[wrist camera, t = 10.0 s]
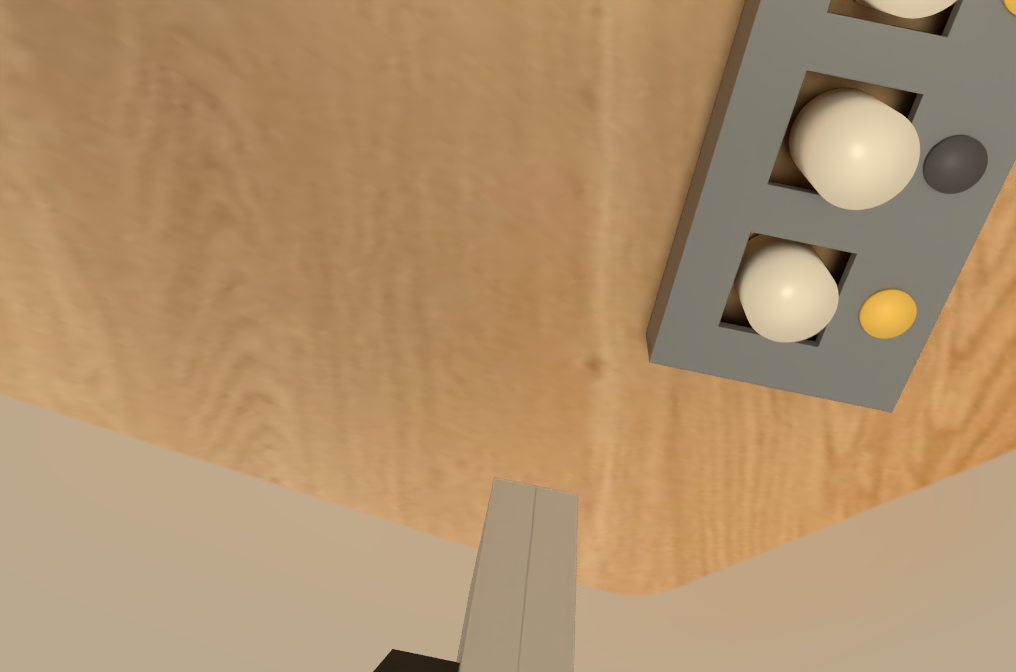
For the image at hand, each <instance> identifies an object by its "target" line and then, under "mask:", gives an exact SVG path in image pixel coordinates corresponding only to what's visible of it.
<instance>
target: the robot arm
mask: <svg viewBox="0 0 1016 672" xmlns="http://www.w3.org/2000/svg"><path fill="white" fill-rule="evenodd" d="M577 528H578V494H573V493H568V492H563V491H558V490H553V489H549V488H544V487H539V486H534V485H529V484H524V483H520V482H515V481H510V480H505V479H500V478H495V477H494V481H493V486H492V490H491V495H490V499H489V504H488V509H487V513H486V518H485V522H484V527H483V532H482V536H481V541H480V545H479V550H478V554H477V559H476V564H475V569H474V573H473V577H472V582H471V587H470V591H469V597H468V602H467V608H466V613H465V618H464V624H463V630H462V635H461V640H460V646H459V651H458V656H457V662H453V661H448V660H443V659H438V658H433V657H429V656H424V655H419V654H414V653H409V652H404V651H400V650H395V649H392V650H391V652H390V653H389V654H388V655H387V656H386V657H385V659H384V660H383V661H382V662H381V663H380V664H379V666H378V667H377V668H376V669H375V670H374V671H373V672H574V646H575V645H574V644H575V605H576V567H577Z"/></svg>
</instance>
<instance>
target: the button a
mask: <svg viewBox="0 0 1016 672" xmlns="http://www.w3.org/2000/svg"><path fill="white" fill-rule="evenodd" d="M733 283H734V286H735V289H736V291H737V294H738V296H739V299H740V301H741V304H742V307H743V309H744V312H745V314H746V317H747V319H748V321H749V323H750V325H751V326H752V328H753V329H754V330H755V331H756V332H757V333H759V334H760V335H761V336H763V337H765V338H767V339H769V340H772V341H776V342H787V343H788V342H797V341H801V340H804V339H807V338H809V337H812V336H813V335H815V334H817V333H818V332H820V331H821V330H822V329H823V328H824V327H825V326H826V325H827V324H828V323H829V322H830V321H831V319H832V318H833V316H834V314H835V312H836V309H837V306H838V299H839V294H838V288H837V285H836V283H835V280H834V279H833V277H832V276H831V274H830V273H829V271H828V270H827V268H826V267H825V265H824V264H823V263H822V261H821V260H820V258H819V257H818V255H817V254H816V252H815V251H814V249H813V248H812V246H811V245H810V244H807V243H802V242H798V241H793V240H788V239H783V238H778V237H773V236H769V235H764V234H760V235H758V236H756V237H754V238H752V239H751V240H749V241H748V242H747V244H746V247H745V250H744V253H743V256H742V259H741V262H740V265H739V268H738V270H737V273H736V276H735V279H734V282H733Z"/></svg>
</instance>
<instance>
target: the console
mask: <svg viewBox="0 0 1016 672" xmlns="http://www.w3.org/2000/svg"><path fill="white" fill-rule="evenodd" d="M830 1H831V0H746V1H745V5H744V8H743V11H742V15H741V18H740V21H739V25H738V28H737V31H736V35H735V38H734V41H733V45H732V48H731V52H730V55H729V58H728V62H727V65H726V68H725V72H724V75H723V78H722V82H721V85H720V88H719V92H718V95H717V98H716V102H715V105H714V108H713V112H712V115H711V118H710V122H709V125H708V128H707V132H706V135H705V138H704V142H703V145H702V148H701V152H700V155H699V158H698V162H697V165H696V168H695V172H694V175H693V178H692V182H691V185H690V188H689V192H688V195H687V199H686V202H685V205H684V209H683V212H682V215H681V219H680V222H679V225H678V229H677V232H676V235H675V239H674V242H673V245H672V249H671V252H670V255H669V259H668V262H667V265H666V269H665V272H664V275H663V279H662V282H661V285H660V289H659V292H658V295H657V299H656V302H655V305H654V309H653V312H652V315H651V319H650V322H649V325H648V329H647V332H646V340H647V347H648V355H649V362H650V363H655V364H659V365H664V366H669V367H674V368H679V369H684V370H688V371H693V372H698V373H703V374H708V375H713V376H717V377H722V378H727V379H732V380H737V381H741V382H746V383H751V384H756V385H761V386H766V387H770V388H775V389H780V390H785V391H790V392H795V393H799V394H804V395H809V396H814V397H819V398H824V399H828V400H833V401H838V402H843V403H848V404H853V405H857V406H862V407H867V408H872V409H877V410H881V411H886V412H891V413H892V411H893V409H894V407H895V405H896V403H897V401H898V399H899V397H900V395H901V393H902V390H903V388H904V386H905V384H906V382H907V380H908V378H909V376H910V374H911V372H912V370H913V368H914V366H915V364H916V362H917V360H918V358H919V356H920V354H921V352H922V350H923V348H924V345H925V343H926V341H927V339H928V337H929V335H930V333H931V331H932V329H933V327H934V325H935V323H936V321H937V319H938V317H939V315H940V313H941V311H942V309H943V307H944V305H945V303H946V300H947V298H948V296H949V294H950V292H951V290H952V288H953V286H954V284H955V282H956V280H957V278H958V276H959V274H960V272H961V270H962V268H963V266H964V264H965V262H966V260H967V258H968V255H969V253H970V251H971V249H972V247H973V245H974V243H975V241H976V239H977V237H978V235H979V233H980V231H981V229H982V227H983V225H984V223H985V221H986V219H987V217H988V215H989V213H990V210H991V208H992V206H993V204H994V202H995V200H996V198H997V196H998V194H999V192H1000V190H1001V188H1002V186H1003V184H1004V182H1005V180H1006V178H1007V176H1008V174H1009V172H1010V170H1011V168H1012V165H1013V163H1014V161H1015V159H1016V0H957V1H956V2H955V4H954V7H953V9H952V12H951V14H950V17H949V19H948V21H947V24H946V26H945V29H944V31H943V33H942V36H941V35H936V34H931V33H927V32H922V31H917V30H912V29H907V28H903V27H898V26H893V25H888V24H883V23H878V22H874V21H869V20H864V19H859V18H854V17H850V16H845V15H840V14H835V13H830V12H827V10H828V7H829V4H830ZM807 70H808V71H813V72H818V73H823V74H827V75H832V76H837V77H842V78H847V79H852V80H856V81H861V82H866V83H871V84H876V85H880V86H885V87H890V88H895V89H900V90H905V91H909V92H914V93H918V94H917V96H916V99H915V101H914V103H913V106H912V108H911V111H910V113H909V116H908V118H907V119H908V120H909V121H910V122H911V123H912V125H913V126H914V128H915V130H916V132H917V134H918V137H919V142H920V157H919V162H918V165H917V168H916V171H915V173H914V175H913V177H912V178H911V180H910V181H909V183H908V184H907V185H906V186H905V188H904V189H903V190H902V191H901V192H900V193H899V194H897V195H896V196H895V197H893V198H892V199H890V200H889V201H887V202H885V203H883V204H881V205H879V206H876V207H873V208H869V209H863V210H849V209H843V208H840V207H837V206H835V205H832V204H831V203H829V202H828V201H826V200H825V199H824V198H823V197H822V196H821V195H820V194H819V193H818V192H817V191H814V190H809V189H804V188H799V187H794V186H789V185H785V184H780V183H775V182H770V181H769V178H770V175H771V172H772V169H773V166H774V163H775V161H776V158H777V155H778V152H779V149H780V146H781V143H782V140H783V137H784V135H785V132H786V129H787V126H788V123H789V120H790V117H791V114H792V111H793V108H794V106H795V103H796V100H797V97H798V94H799V91H800V88H801V85H802V82H803V80H804V77H805V74H806V71H807ZM751 232H754V233H759V234H764V235H769V236H773V237H778V238H783V239H788V240H793V241H798V242H802V243H807V244H812V245H817V246H822V247H826V248H831V249H836V250H841V251H846V252H851V256H850V258H849V260H848V263H847V265H846V268H845V270H844V272H843V275H842V277H841V280H840V282H839V285H838V287H837V288H838V294H839V299H838V306H837V309H836V312H835V314H834V316H833V318H832V319H831V321H830V322H829V323H828V324H827V325H826V326H825V327H824V328H823V329H822V330H821V331H820V332H819V333H818V335H817V338H816V340H815V341H811V340H806V339H804V340H801V341H797V342H788V343H787V342H776V341H772V340H769V339H767V338H765V337H763V336H761V335H760V334H759V333H757V332H756V331H755V330H754V329H753V328H748V327H743V326H738V325H734V324H729V323H724V322H720V320H721V317H722V314H723V311H724V308H725V305H726V302H727V299H728V296H729V294H730V291H731V288H732V285H733V282H734V279H735V276H736V273H737V270H738V268H739V265H740V262H741V259H742V256H743V253H744V250H745V247H746V244H747V242H748V239H749V236H750V233H751Z"/></svg>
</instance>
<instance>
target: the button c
mask: <svg viewBox="0 0 1016 672" xmlns="http://www.w3.org/2000/svg"><path fill="white" fill-rule="evenodd" d="M855 1H856V2H858V3H859V4H861V5H863V6H866V7H869V8H872V9H876V10H879V11H882V12H885V13H889V14H892V15H895V16H899V17H903V18H922V17H927V16H931V15H933V14H936V13H938V12H940V11H942V10H944V9H946V8H947V7H949V6H950V5H952V4H953V3H954V2H956V1H957V0H855Z"/></svg>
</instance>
